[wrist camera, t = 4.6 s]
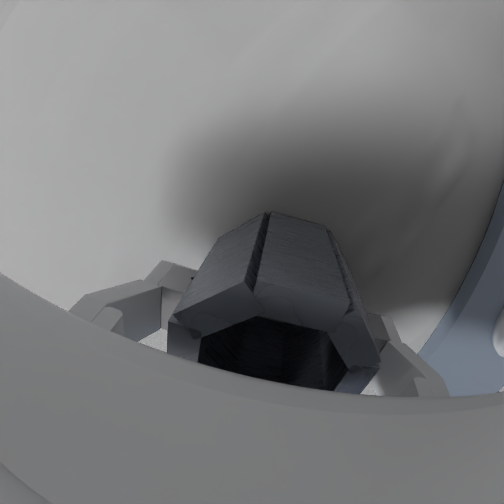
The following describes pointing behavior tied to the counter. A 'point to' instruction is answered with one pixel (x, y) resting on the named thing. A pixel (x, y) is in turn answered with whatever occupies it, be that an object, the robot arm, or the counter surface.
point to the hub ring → (277, 309)
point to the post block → (474, 322)
